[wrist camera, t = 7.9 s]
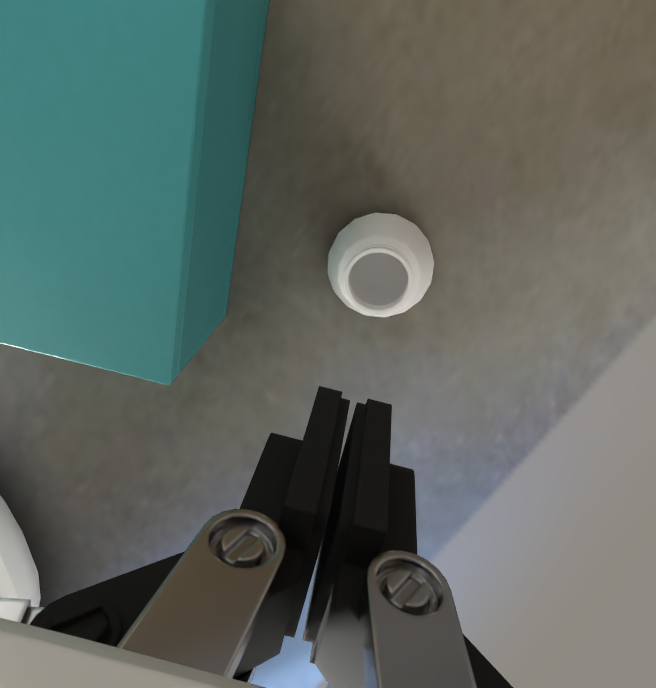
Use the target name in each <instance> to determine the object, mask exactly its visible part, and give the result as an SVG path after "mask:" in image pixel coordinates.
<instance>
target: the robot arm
mask: <svg viewBox="0 0 656 688" xmlns="http://www.w3.org/2000/svg"><path fill="white" fill-rule="evenodd" d="M341 396H342V392H341V391H337V390H333V389H329V388H325V387H321V386H319V388H318V392H317V395H316V398H315V402H314V405H313V408H312V412H311V415H310V418H309V422H308V425H307V428H306V432H305V435H304V438H303V441H302V440H298V439H294V438H290V437H286V436H283V435H279V434H275V433H271V434H270V436H269V438H268V440H267V443H266V445H265V448H264V450H263V453H262V455H261V457H260V460H259V462H258V465H257V467H256V470H255V472H254V475H253V477H252V480H251V482H250V484H249V487H248V489H247V492H246V494H245V497H244V499H243V502H242V504H241V507H240V509H233V510H228V511H223V512H221V513H219V514H217V515H215V516H213V517H212V518H211V519H210V520H209V521H208V522H207V523H206V524H205V525H204V526H203V527H202V529H201V530H200V532H199V533H198V534H197V536H196V537H195V538H194V540H193V541H192V543H191V544H190V545H189V547H188V548H187V550H186V551H185V552H182V553H179V554H176V555H174V556H171V557H168V558H166V559H163V560H160V561H158V562H155V563H152V564H150V565H147V566H144V567H141V568H139V569H136V570H133V571H131V572H128V573H125V574H123V575H120V576H117V577H114V578H112V579H109V580H106V581H104V582H101V583H98V584H96V585H93V586H90V587H87V588H85V589H82V590H79V591H77V592H74V593H71V594H69V595H66V596H64V597H62V598H60V599H58V600H56V601H54V602H52V603H50V604H49V605H48V606H46V607H31V599H17V598H0V688H265V687H261V686H257V685H254V684H251V681H252V679H253V675H254V671H255V667H256V666H258V665H260V664H261V663H263V662H265V661H267V660H269V659H270V658H272V657H274V656H276V655H277V654H279V653H280V650H281V646H282V642H283V639H284V635H286V636H290V637H293V638H294V636H295V633H296V629H297V626H298V622H299V619H300V616H301V612H302V609H303V605H304V602H305V598H306V595H307V591H308V588H309V585H310V581H311V578H312V574H313V571H314V567H315V564H316V561H317V566H316V571H315V576H314V582H313V587H312V592H311V598H310V603H309V608H308V614H307V619H306V624H305V629H304V635H303V640H304V641H308V642H312V643H313V645H312V651H311V657H310V663H314V664H316V666H317V667H318V669H319V670H320V672H321V673H322V675H323V676H324V678H325V679H326V681H327V682H328V684H327V687H326V688H513V687H512V686H511V685H510V684H509V683H508V682H507V681H506V680H505V679H504V677H503V676H502V675H501V674H500V673H499V672H498V671H497V670H496V669H495V668H494V667H493V666H492V665H491V664H490V662H489V661H488V660H487V659H486V658H485V657H484V656H483V655H482V654H481V653H480V652H479V651H478V650H477V648H476V647H475V646H474V645H473V644H472V643H471V642H470V641H469V640H468V639H467V638H466V637H465V636H464V635H463V633H462V630H461V626H460V622H459V619H458V615H457V611H456V607H455V604H454V600H453V596H452V592H451V589H450V587H449V585H448V583H447V580H446V579H445V577H444V576H443V575H442V574H441V572H440V571H439V570H438V569H437V568H436V567H435V566H434V565H433V564H431V563H430V562H429V561H428V560H426V559H424V558H422V557H420V556H418V555H417V534H416V504H415V475H414V471H413V470H412V469H408V468H405V467H401V466H397V465H393V464H390V440H391V412H392V405H391V404H387V403H383V402H379V401H375V400H371V399H368V400H367V402H366V404H362V403H358V402H357V404H356V408H355V411H354V415H353V418H352V422H351V425H350V429H349V432H348V436H347V439H346V443H345V446H344V450H343V453H342V457H341V460H340V464H339V459H340V454H341V448H342V442H343V437H344V431H345V426H346V420H347V415H348V409H349V404H350V400H346V399H342V398H341ZM338 465H339V467H338ZM337 470H338V471H337ZM318 554H319V555H318ZM317 557H318V560H317Z"/></svg>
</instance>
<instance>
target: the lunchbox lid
mask: <svg viewBox="0 0 656 688" xmlns="http://www.w3.org/2000/svg"><path fill="white" fill-rule="evenodd" d="M214 3H215V0H0V343H2V344H6V345H10V346H14V347H18V348H22V349H26V350H30V351H34V352H38V353H42V354H46V355H50V356H54V357H58V358H62V359H66V360H70V361H74V362H78V363H82V364H86V365H90V366H94V367H98V368H102V369H106V370H110V371H114V372H118V373H122V374H126V375H130V376H134V377H138V378H142V379H146V380H150V381H154V382H158V383H162V384H166V385H170V384H171V383H172V382H173V381H174V379H175V378H176V377H177V370H178V360H179V350H180V340H181V330H182V320H183V310H184V300H185V290H186V280H187V271H188V261H189V251H190V241H191V231H192V221H193V211H194V201H195V191H196V181H197V171H198V161H199V152H200V142H201V132H202V122H203V112H204V102H205V92H206V82H207V72H208V62H209V52H210V42H211V32H212V23H213V13H214Z"/></svg>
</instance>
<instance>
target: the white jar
mask: <svg viewBox="0 0 656 688" xmlns="http://www.w3.org/2000/svg"><path fill="white" fill-rule="evenodd" d="M433 268H434V259H433V255H432V252H431V248H430V244H429V241H428V239H427V238H426V237H425V236H424V234H423V233H422V232H421V231H420V229H419V228H418V227H417V226H416V225H415V224H414V223H412V222H410V221H408V220H406V219H404V218H402V217H400V216H399V215H397V214H386V213H372V214H369V215H366V216H363V217H360V218H356V219H354V220H353V221H352V222H351V223H349V224H348V225H347V226H346V227H345V228H344V229H342V230H341V231H340V232H339V233H338V235H337V237H336V239H335V241H334V243H333V245H332V247H331V249H330V251H329V253H328V270H327V274H328V276H329V279H330V282H331V285H332V288H333V291H334V292H335V293H336V295H337V296H338V297H339V298H340V299H341V300H342V301H343V302H344V304H345V305H346V306H347V307H349V308H351V309H353V310H355V311H357V312H359V313H361V314H363V315H365V316H375V317H389V316H392V315H396V314H400V313H403V312H405V311H407V310H408V309H409V308H411V307H412V306H413V305H415V304H416V303H418V302H419V301H420V300H421V299H422V297H423V296H424V294H425V292H426V291H427V289H428V287H429V286H430V284H431V282H432V275H433Z"/></svg>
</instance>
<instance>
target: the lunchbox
mask: <svg viewBox="0 0 656 688" xmlns="http://www.w3.org/2000/svg"><path fill="white" fill-rule="evenodd" d="M268 7H269V0H215V3H214V13H213V23H212V32H211V42H210V52H209V62H208V72H207V82H206V92H205V102H204V112H203V122H202V132H201V142H200V152H199V161H198V171H197V181H196V191H195V201H194V211H193V221H192V231H191V241H190V251H189V261H188V271H187V280H186V290H185V300H184V310H183V320H182V330H181V340H180V350H179V360H178V370H177V375H178V374H179V373H180V372H181V371H182V369H183V368H184V367H185V366H186V364H187V363H188V362H189V361H190V359H191V358H192V357H193V356H194V355H195V353H196V352H197V351H198V350H199V348H200V347H201V346H202V345H203V343H204V342H205V341H206V340H207V338H208V337H209V336H210V335H211V334H212V332H213V331H214V330H215V329H216V327H217V326H218V325H219V324H220V322H221V321H222V320H223V319H224V318H225V316H226V311H227V304H228V297H229V289H230V282H231V275H232V268H233V260H234V253H235V246H236V239H237V231H238V224H239V217H240V210H241V202H242V195H243V188H244V181H245V173H246V166H247V159H248V152H249V144H250V137H251V130H252V123H253V115H254V108H255V101H256V94H257V86H258V79H259V72H260V65H261V57H262V50H263V43H264V36H265V28H266V21H267V14H268Z"/></svg>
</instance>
